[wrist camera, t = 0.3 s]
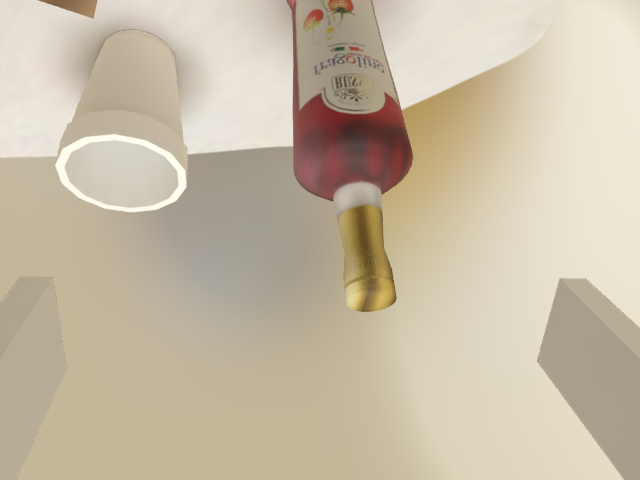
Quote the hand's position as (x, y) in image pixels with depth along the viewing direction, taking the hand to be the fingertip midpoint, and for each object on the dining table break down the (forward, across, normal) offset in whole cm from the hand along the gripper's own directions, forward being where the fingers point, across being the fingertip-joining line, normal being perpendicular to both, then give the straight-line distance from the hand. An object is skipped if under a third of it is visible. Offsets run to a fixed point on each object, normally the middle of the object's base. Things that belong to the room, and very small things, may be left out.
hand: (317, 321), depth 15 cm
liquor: (+36, +4, +8) cm, 38 cm away
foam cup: (+41, -11, +1) cm, 43 cm away
